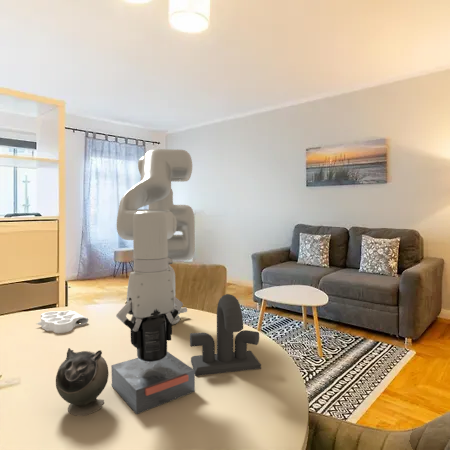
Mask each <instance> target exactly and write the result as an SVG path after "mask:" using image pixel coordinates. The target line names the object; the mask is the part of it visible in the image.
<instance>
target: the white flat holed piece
mask: <svg viewBox="0 0 450 450" xmlns="http://www.w3.org/2000/svg"><path fill="white" fill-rule="evenodd" d="M77 321H79V322H80V323H81V324H78V323H79V322H77ZM88 322H89V318H88V317H86V316H84V315H82V314H80V313H78V312H77V311H75V310H70V309H69V310H65V311H64V310H63V311H57V310H54V311H46V312H43V313H41V314H40V320H39V321H38V322H37V323H36V325H38V326H40V328H41V329H44V331H47V332H54V334H65V333H68V332H71V331H73V330H74V328H75V326H76V327H78V326H79V327H80V326H84V325H86V324H87V323H88Z"/></svg>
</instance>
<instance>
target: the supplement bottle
mask: <svg viewBox="0 0 450 450" xmlns="http://www.w3.org/2000/svg"><path fill="white" fill-rule="evenodd" d="M151 315H153V316H150V317H147V318H143V319H142V321H141V324H140V326H139V330H140V331H141V348H140V349H137V348H136V356H137V358H139V359H140V360H142V361H146V362H152V361H158V360H161V359H163V358H164V357H165V356H166V355H167V352H168V340H167V320H166V317H165V316H164V315H163V314H161V315H160V312H158V310H157V309H156V310H155V309H154V313H151Z"/></svg>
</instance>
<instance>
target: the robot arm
mask: <svg viewBox="0 0 450 450" xmlns="http://www.w3.org/2000/svg"><path fill="white" fill-rule="evenodd" d="M192 160H193V159H192V157H191V154H190V153H189V152H188V151H187V150H184V149H174V148H173V149H172V148H171V149H170V148H168V149H167V148H156V149H150V150H148V151H147V152H146V153H145V154H144V155H143V156H142V157H140V158H139V160H138V161H137V169H138V171H139V175H140V181H139V182H138V183H136V184H135V185H133V186H132V187H131V188H130V189H128V190H127V191H126V192H125V193H124V194H123V195H122V197H121V200H120V201H119V205H118V210H117V215H116V231H117V235H118V236H119V237H120V238H121V239H123V240H125V241H133V243H132V244H133V271H130V272H129V276H128V282H127V290H126V303H125V304H124V306H122V308H121V309H120V310H119V311H118V312H117V313H116V318H117V319H118V320H119V322H121V323H123V324H124V325H125V327H128V328H129V329H130V343H131V345H132V346H133V347H134V348H136V350H137V349H140V348H141V331H140V330H139V326H140V324H141V321H142V319H143V318H147V317H150V316H153V315H151V313H154V309H155V310H156V309H157V310H158V312H160V315H161V314H163V315H164V316H165V317H166V320H167V342H170V341H172V334H173V326H174V325H175V324H176V325H177V324H178V323H179V322H180V320H181V319H180V318H181V317H180V314H185V313H187V312H188V308H187V307H186V306H185V307H183V306H184V303H183V301H181V300H179V299H178V298H177V297H176V273H175V270H174V268H173V267H172V266H171V265H172V264H173V262H178V261H179V262H181V261H190V260H193V259H194V256H195V250H196V248H195V246H196V245H195V242H196V241H195V232H196V231H195V230H196V229H195V213H194V209H193V208H192V206H190V205H186V204H174V198H173V197H174V192H173V188H172V183H173V182H174V183H175V182H177V183H179V182H180V183H181V182H182V183H183V182H188V181H189V180H190V179H191V176H192V173H193V161H192ZM147 206H148V209H147V208H146V209H142V208H143V207H147ZM176 232H180V233H181V234H175V233H176ZM127 315H132V316H131V319H129V318H127Z"/></svg>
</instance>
